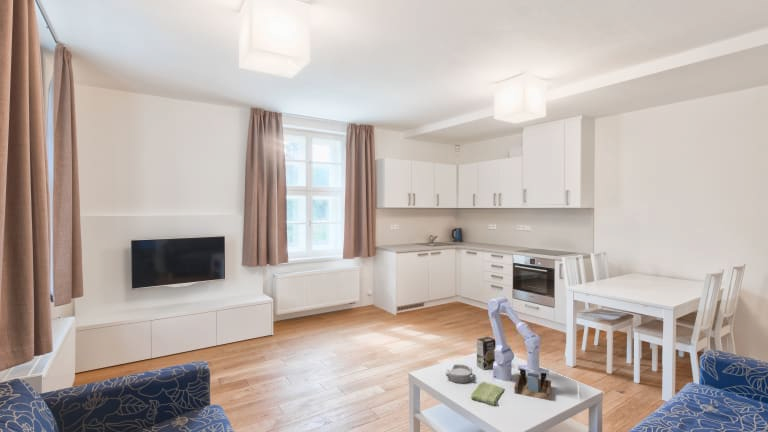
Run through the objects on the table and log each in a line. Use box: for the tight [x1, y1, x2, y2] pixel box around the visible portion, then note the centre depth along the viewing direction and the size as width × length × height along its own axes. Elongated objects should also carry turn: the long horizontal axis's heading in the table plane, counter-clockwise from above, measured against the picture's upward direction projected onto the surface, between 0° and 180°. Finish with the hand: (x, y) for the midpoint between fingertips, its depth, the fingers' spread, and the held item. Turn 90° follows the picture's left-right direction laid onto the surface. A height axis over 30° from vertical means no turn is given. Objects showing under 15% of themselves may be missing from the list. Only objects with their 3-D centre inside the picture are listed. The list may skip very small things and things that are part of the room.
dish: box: [445, 363, 474, 384], centre depth 204 cm, size 14×14×5 cm
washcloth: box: [470, 381, 506, 407], centre depth 186 cm, size 13×18×3 cm
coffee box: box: [476, 336, 496, 371], centre depth 218 cm, size 9×6×16 cm
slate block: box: [526, 372, 540, 392], centre depth 189 cm, size 5×5×7 cm
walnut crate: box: [514, 374, 552, 401], centre depth 188 cm, size 16×14×4 cm
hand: (533, 386), depth 189 cm, fingers open, 7 cm apart
